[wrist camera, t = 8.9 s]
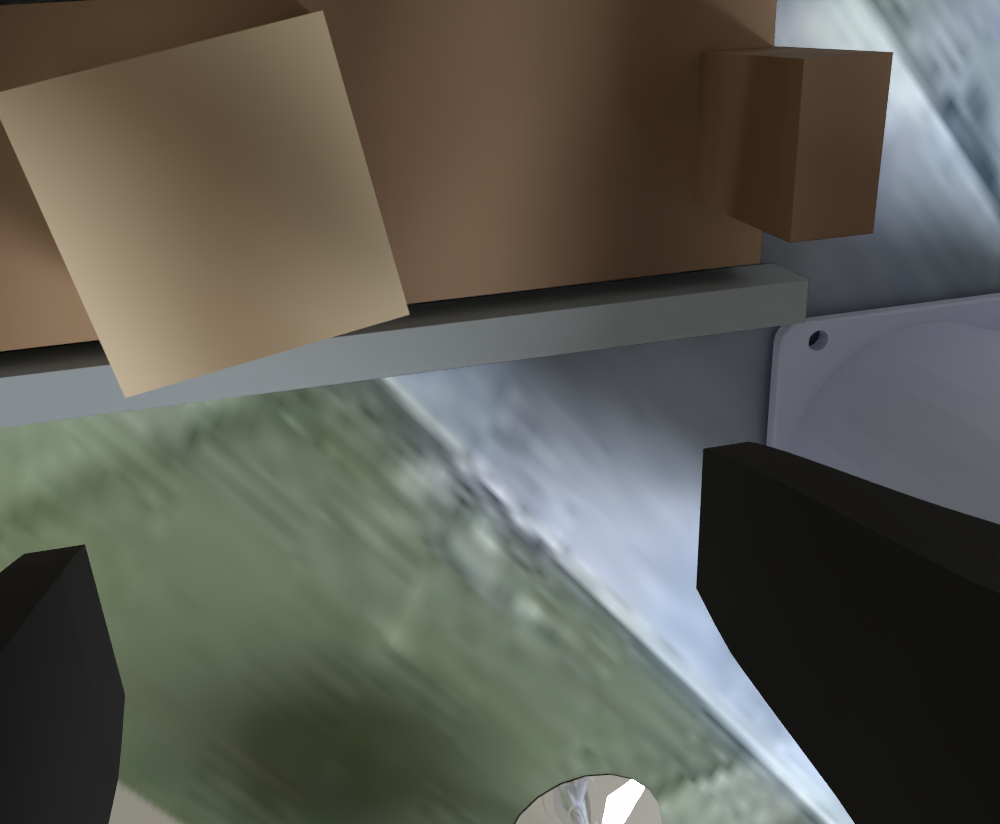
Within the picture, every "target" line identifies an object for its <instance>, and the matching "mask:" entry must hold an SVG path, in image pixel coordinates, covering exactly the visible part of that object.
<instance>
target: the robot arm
mask: <svg viewBox="0 0 1000 824" xmlns="http://www.w3.org/2000/svg"><path fill="white" fill-rule="evenodd" d="M816 331H819V333H820V335H819V338H818V340H817V341H816V342H815V343H814V344H813V345H810V346H809V343H808V342H809V339H810V336H811V335H812V334H813V333H814V332H816ZM696 588H697V590H698V592H699V594H700V596H701V598H702V600H703V602H704V604H705V606H706V608H707V610H708V612H709V614H710V616H711V618H712V620H713V622H714V623H715V625H716V627H717V629H718V631H719V632H720V634H721V636H722V638H723V640H724V641H725V643H726V645H727V647H728V649H729V650H730V652H731V654H732V655H733V657H734V658H735V659H736V661H737V662H738V664H739V665H740V667H741V668H742V669H743V671H744V672H745V674H746V675H747V676H748V678H749V679H750V680H751V682H752V683H753V685H754V686H755V687H756V689H757V690H758V691H759V693H760V694H761V696H762V697H763V698H764V700H765V701H766V702H767V704H768V705H769V706H770V708H771V709H772V711H773V712H774V713H775V715H776V716H777V717H778V719H779V720H780V721H781V723H782V724H783V725H784V727H785V728H786V729H787V731H788V732H789V733H790V735H791V736H792V737H793V739H794V740H795V741H796V743H797V744H798V745H799V747H800V748H801V749H802V751H803V752H804V754H805V755H806V756H807V758H808V759H809V760H810V762H811V763H812V764H813V766H814V767H815V768H816V770H817V771H818V772H819V774H820V775H821V776H822V778H823V779H824V780H825V782H826V783H827V784H828V786H829V787H830V789H831V790H832V791H833V793H834V794H835V795H836V797H837V798H838V799H839V801H840V802H841V804H842V805H843V807H844V808H845V810H846V811H847V813H848V814H849V816H850V817H851V819H852V820H853V822H854V823H855V824H1000V293H994V294H986V295H978V296H971V297H963V298H955V299H947V300H940V301H932V302H924V303H917V304H909V305H901V306H893V307H886V308H878V309H870V310H863V311H855V312H847V313H839V314H832V315H824V316H816V317H809V318H806V321H805V323H798V324H790V325H783V326H781V327H780V328H779V329H778V331H777V332H776V334H775V338H774V343H773V357H772V371H771V385H770V399H769V413H768V428H767V442H766V445H762V444H757V443H753V442H744V443H737V444H731V445H725V446H718V447H712V448H705V449H703V467H702V487H701V507H700V526H699V546H698V566H697V585H696ZM124 701H125V693H124V689H123V686H122V682H121V678H120V674H119V671H118V667H117V663H116V659H115V656H114V652H113V648H112V644H111V641H110V637H109V633H108V629H107V626H106V622H105V618H104V614H103V611H102V607H101V603H100V599H99V596H98V592H97V588H96V584H95V581H94V577H93V573H92V569H91V566H90V562H89V558H88V554H87V551H86V547H85V545H79V546H72V547H66V548H59V549H53V550H46V551H40V552H33V553H27V554H24V555H22V556H21V557H20V558H18V559H17V560H16V561H14V562H13V563H12V564H10V565H9V566H8V567H7V568H5V569H4V570H3V571H2V572H1V573H0V824H108V823H109V818H110V814H111V809H112V805H113V800H114V795H115V791H116V786H117V781H118V774H119V764H120V753H121V743H122V729H123V715H124Z"/></svg>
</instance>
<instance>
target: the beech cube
mask: <svg viewBox="0 0 1000 824" xmlns="http://www.w3.org/2000/svg"><path fill="white" fill-rule="evenodd" d="M0 120H1V122H2V124H3V126H4V129H5V131H6V133H7V135H8V138H9V140H10V142H11V144H12V146H13V149H14V151H15V153H16V155H17V158H18V160H19V162H20V164H21V167H22V169H23V171H24V173H25V175H26V178H27V180H28V182H29V184H30V187H31V189H32V191H33V193H34V195H35V198H36V200H37V202H38V204H39V207H40V209H41V211H42V213H43V216H44V218H45V220H46V222H47V224H48V227H49V229H50V231H51V233H52V236H53V238H54V240H55V242H56V245H57V247H58V249H59V251H60V253H61V256H62V258H63V260H64V262H65V265H66V267H67V269H68V271H69V274H70V276H71V278H72V280H73V282H74V285H75V287H76V289H77V291H78V294H79V296H80V298H81V300H82V302H83V305H84V307H85V309H86V311H87V314H88V316H89V318H90V320H91V323H92V325H93V327H94V329H95V331H96V334H97V336H98V338H99V340H100V343H101V345H102V347H103V349H104V352H105V354H106V356H107V358H108V360H109V363H110V365H111V367H112V369H113V372H114V374H115V376H116V378H117V381H118V383H119V385H120V387H121V389H122V392H123V394H124V396H125V398H127V397H131V396H134V395H137V394H141V393H144V392H148V391H151V390H154V389H158V388H161V387H165V386H168V385H171V384H175V383H178V382H182V381H185V380H189V379H192V378H195V377H199V376H202V375H206V374H209V373H212V372H216V371H219V370H223V369H226V368H229V367H233V366H236V365H240V364H243V363H246V362H250V361H253V360H257V359H260V358H263V357H267V356H270V355H274V354H277V353H280V352H284V351H287V350H291V349H294V348H298V347H301V346H304V345H308V344H311V343H315V342H318V341H321V340H325V339H328V338H332V337H335V336H338V335H342V334H345V333H349V332H352V331H355V330H359V329H362V328H366V327H369V326H372V325H376V324H379V323H383V322H386V321H389V320H393V319H396V318H400V317H403V316H406V315H410V314H409V310H408V307H407V303H406V300H405V296H404V293H403V289H402V286H401V282H400V279H399V275H398V272H397V268H396V265H395V261H394V258H393V254H392V251H391V247H390V244H389V240H388V237H387V233H386V230H385V226H384V223H383V219H382V216H381V212H380V209H379V205H378V202H377V198H376V195H375V191H374V188H373V184H372V181H371V177H370V174H369V170H368V167H367V163H366V160H365V156H364V153H363V149H362V146H361V142H360V139H359V135H358V132H357V128H356V125H355V121H354V118H353V114H352V111H351V107H350V104H349V100H348V97H347V93H346V90H345V86H344V83H343V79H342V76H341V72H340V69H339V65H338V62H337V58H336V55H335V51H334V48H333V44H332V41H331V37H330V34H329V30H328V27H327V23H326V20H325V16H324V13H323V11H318V12H313V13H309V14H305V15H301V16H297V17H293V18H289V19H285V20H281V21H277V22H273V23H269V24H265V25H261V26H257V27H253V28H249V29H245V30H241V31H238V32H234V33H230V34H226V35H222V36H218V37H214V38H210V39H206V40H202V41H198V42H194V43H190V44H186V45H182V46H178V47H174V48H170V49H166V50H162V51H158V52H154V53H150V54H147V55H143V56H139V57H135V58H131V59H127V60H123V61H119V62H115V63H111V64H107V65H103V66H99V67H95V68H91V69H87V70H83V71H79V72H75V73H71V74H67V75H63V76H59V77H56V78H52V79H48V80H44V81H40V82H36V83H33V84H29V85H25V86H21V87H17V88H14V89H10V90H6V91H2V92H0Z"/></svg>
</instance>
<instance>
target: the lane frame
mask: <svg viewBox="0 0 1000 824" xmlns="http://www.w3.org/2000/svg"><path fill="white" fill-rule="evenodd" d="M808 285H809V280H808V279H806V278H804V277H802V276H800V275H798V274H796V273H794V272H792V271H790V270H788V269H785V268H783V267H781V266H779V265H777V264H775V263H768V264H760V265H751V266H743V267H734V268H726V269H717V270H709V271H700V272H691V273H683V274H674V275H666V276H657V277H649V278H640V279H632V280H623V281H614V282H606V283H597V284H589V285H580V286H572V287H563V288H554V289H546V290H537V291H529V292H520V293H512V294H503V295H495V296H486V297H477V298H469V299H460V300H452V301H443V302H435V303H426V304H418V305H409V306H407V307H408V310H409V314H410V315H406V316H403V317H400V318H396V319H393V320H389V321H386V322H383V323H379V324H376V325H372V326H369V327H366V328H362V329H359V330H355V331H352V332H349V333H345V334H342V335H338V336H335V337H332V338H328V339H325V340H321V341H318V342H315V343H311V344H308V345H304V346H301V347H298V348H294V349H291V350H287V351H284V352H280V353H277V354H274V355H270V356H267V357H263V358H260V359H257V360H253V361H250V362H246V363H243V364H240V365H236V366H233V367H229V368H226V369H223V370H219V371H216V372H212V373H209V374H206V375H202V376H199V377H195V378H192V379H189V380H185V381H182V382H178V383H175V384H171V385H168V386H165V387H161V388H158V389H154V390H151V391H148V392H144V393H141V394H137V395H134V396H131V397H127V398H125V396H124V394H123V392H122V389H121V387H120V385H119V383H118V381H117V378H116V376H115V374H114V372H113V369H112V367H111V365H110V363H109V360H108V358H107V356H106V354H105V352H104V349H103V347H102V345H101V343H100V342H92V343H84V344H75V345H67V346H58V347H49V348H41V349H32V350H24V351H15V352H7V353H0V428H2V427H10V426H18V425H25V424H33V423H41V422H48V421H56V420H63V419H71V418H79V417H86V416H94V415H102V414H109V413H117V412H125V411H132V410H140V409H148V408H155V407H163V406H171V405H178V404H186V403H194V402H201V401H209V400H216V399H224V398H232V397H239V396H247V395H255V394H262V393H270V392H278V391H285V390H293V389H301V388H308V387H316V386H324V385H331V384H339V383H347V382H354V381H362V380H370V379H377V378H385V377H392V376H400V375H408V374H415V373H423V372H431V371H438V370H446V369H454V368H461V367H469V366H477V365H484V364H492V363H500V362H507V361H515V360H523V359H530V358H538V357H546V356H553V355H561V354H568V353H576V352H584V351H591V350H599V349H607V348H614V347H622V346H630V345H637V344H645V343H653V342H660V341H668V340H676V339H683V338H691V337H699V336H706V335H714V334H721V333H729V332H737V331H744V330H752V329H760V328H767V327H775V326H783V325H790V324H798V323H805V321H806V309H807V297H808Z"/></svg>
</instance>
